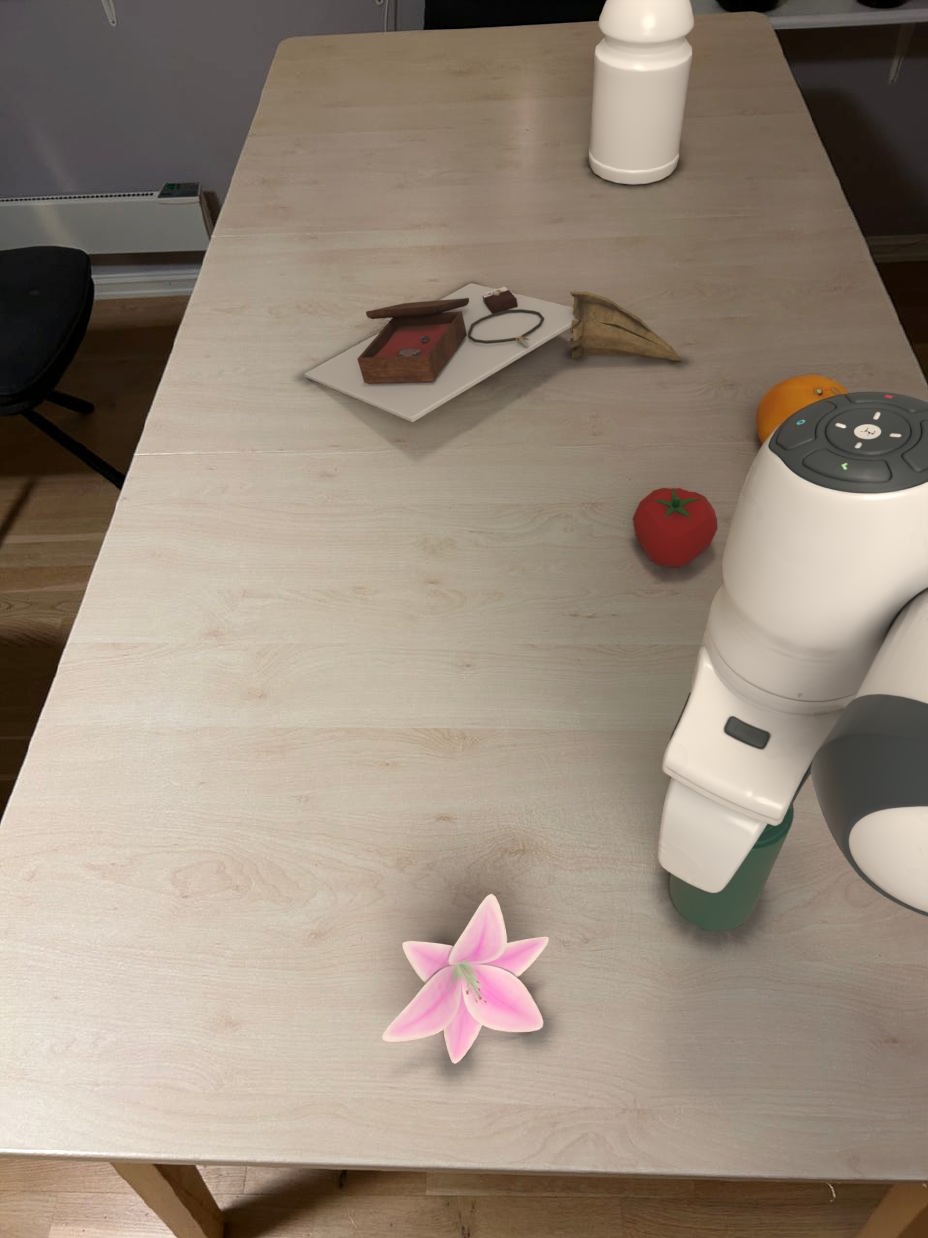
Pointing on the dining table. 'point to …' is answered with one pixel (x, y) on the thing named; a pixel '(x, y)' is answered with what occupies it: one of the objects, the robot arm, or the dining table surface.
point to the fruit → (792, 400)
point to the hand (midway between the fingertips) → (739, 789)
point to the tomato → (674, 525)
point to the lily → (470, 985)
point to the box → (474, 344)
